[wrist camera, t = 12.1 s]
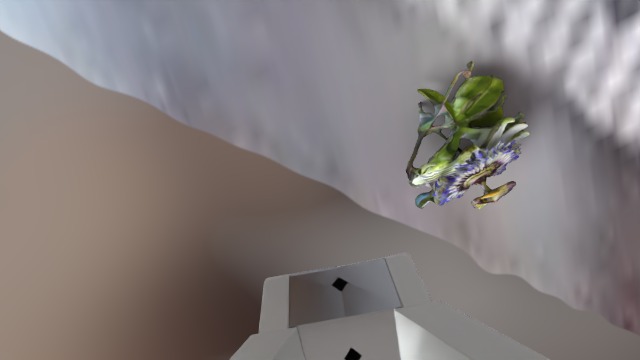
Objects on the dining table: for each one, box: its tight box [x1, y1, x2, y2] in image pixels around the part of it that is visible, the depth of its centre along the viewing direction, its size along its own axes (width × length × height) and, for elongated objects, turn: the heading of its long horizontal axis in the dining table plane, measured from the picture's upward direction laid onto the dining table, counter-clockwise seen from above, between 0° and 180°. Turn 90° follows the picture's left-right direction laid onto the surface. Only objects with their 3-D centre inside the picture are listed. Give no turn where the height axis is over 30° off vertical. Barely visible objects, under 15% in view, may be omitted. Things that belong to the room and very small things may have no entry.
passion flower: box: [406, 61, 530, 209], centre depth 37 cm, size 11×11×12 cm
